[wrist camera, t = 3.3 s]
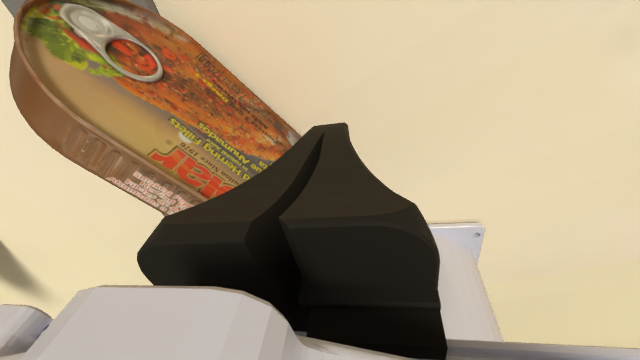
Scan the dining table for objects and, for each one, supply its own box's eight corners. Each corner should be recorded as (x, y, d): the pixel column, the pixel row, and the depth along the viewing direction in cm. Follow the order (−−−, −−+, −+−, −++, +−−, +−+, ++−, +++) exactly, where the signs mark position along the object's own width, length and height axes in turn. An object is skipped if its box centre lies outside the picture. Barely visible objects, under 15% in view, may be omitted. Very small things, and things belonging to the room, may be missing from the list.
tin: (339, 169, 19) (340, 277, 13) (307, 192, 21) (293, 300, 14) (127, -25, 13) (-89, -13, 6) (102, 26, 15) (-96, 80, 8)
